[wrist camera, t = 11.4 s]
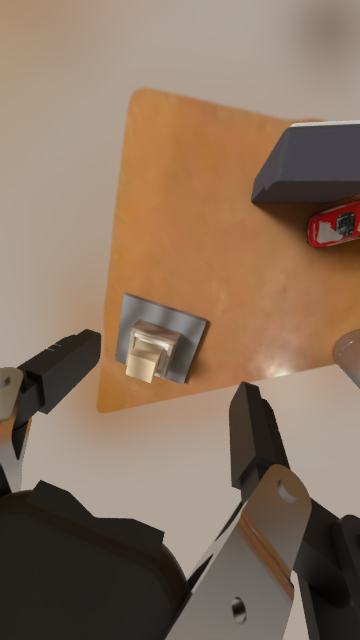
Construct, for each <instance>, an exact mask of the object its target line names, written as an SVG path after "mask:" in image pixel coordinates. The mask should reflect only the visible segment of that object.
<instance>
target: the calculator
mask: <svg viewBox="0 0 360 640" xmlns="http://www.w3.org/2000/svg"><path fill="white" fill-rule="evenodd" d="M358 194H360V120H357V121H334V122H312V123H295V124H292V125H291V126H290V127H289V128H287V129H286V130H285V131H284V132H283V134H282V136H281V137H280V139H279V141H278V142H277V144H276V146H275V147H274V149H273V150H272V152H271V154H270V155H269V157H268V159H267V160H266V162H265V164H264V165H263V167H262V169H261V170H260V172H259V174H258V175H257V177H256V178H255V181H254V187H253V192H252V198H251V202H254V203H308V204H328V203H332V202H335V201H338V200H341V199H345V198H348V197H351V196H354V195H358Z"/></svg>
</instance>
